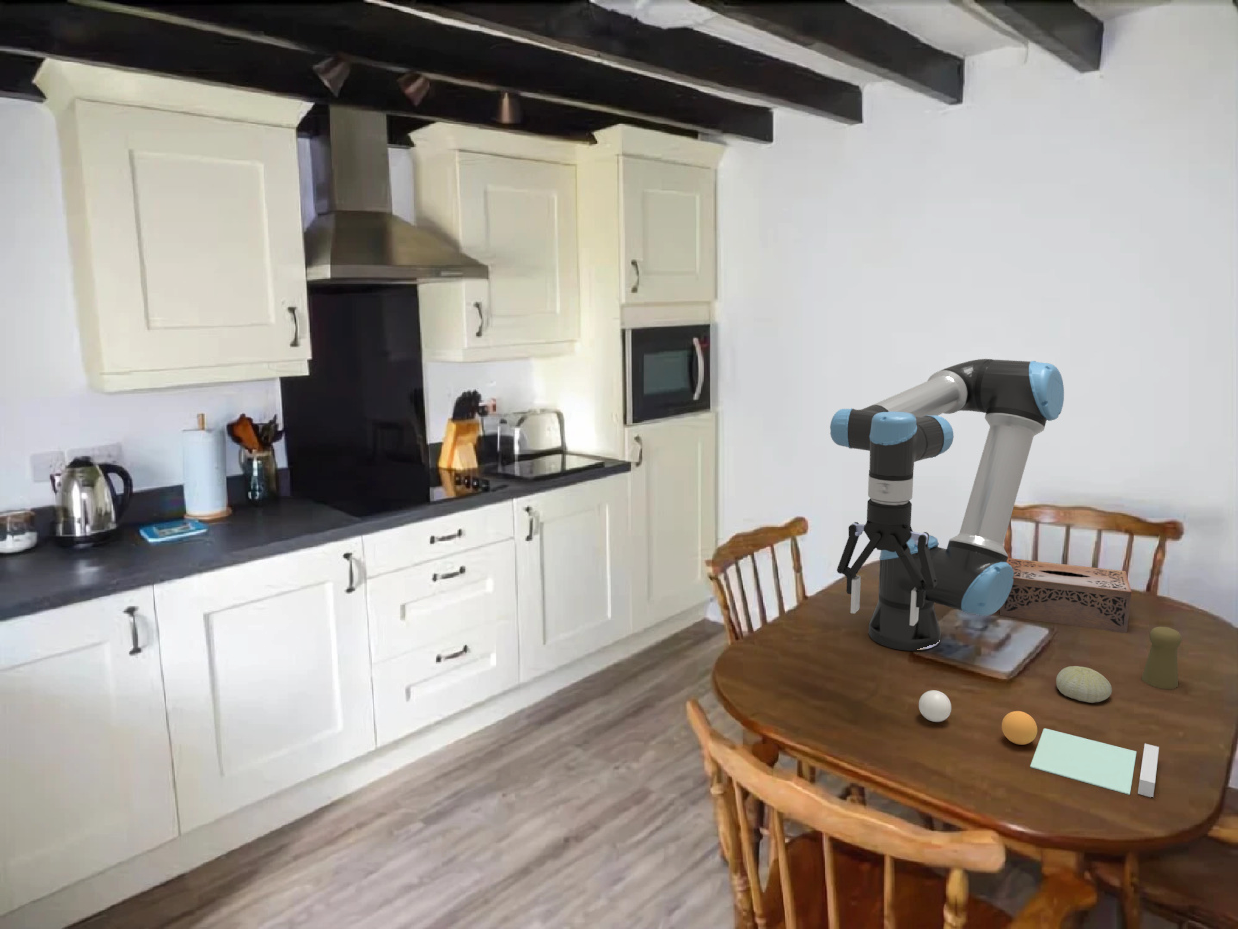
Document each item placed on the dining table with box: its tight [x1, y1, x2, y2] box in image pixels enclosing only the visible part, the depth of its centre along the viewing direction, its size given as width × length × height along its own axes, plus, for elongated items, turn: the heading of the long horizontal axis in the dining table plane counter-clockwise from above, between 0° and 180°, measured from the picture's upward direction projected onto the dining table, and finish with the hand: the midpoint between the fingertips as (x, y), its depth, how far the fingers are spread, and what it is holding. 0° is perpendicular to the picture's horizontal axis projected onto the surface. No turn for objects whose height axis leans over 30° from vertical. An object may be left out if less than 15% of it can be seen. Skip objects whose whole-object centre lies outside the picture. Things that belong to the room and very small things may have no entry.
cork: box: [1141, 626, 1183, 690], centre depth 163 cm, size 6×6×11 cm
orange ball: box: [1001, 710, 1038, 745], centre depth 144 cm, size 6×6×6 cm
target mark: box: [1029, 727, 1137, 796], centre depth 139 cm, size 14×14×1 cm
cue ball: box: [918, 689, 952, 723], centre depth 152 cm, size 6×6×6 cm
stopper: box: [1137, 743, 1160, 798], centre depth 133 cm, size 2×12×2 cm, turn 145°
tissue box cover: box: [999, 557, 1132, 634], centre depth 197 cm, size 26×14×10 cm, turn 64°
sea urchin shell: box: [1055, 665, 1113, 704], centre depth 160 cm, size 9×8×8 cm
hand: (883, 616), depth 154 cm, fingers open, 10 cm apart
